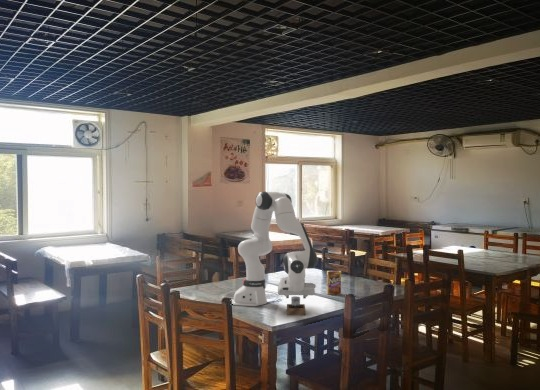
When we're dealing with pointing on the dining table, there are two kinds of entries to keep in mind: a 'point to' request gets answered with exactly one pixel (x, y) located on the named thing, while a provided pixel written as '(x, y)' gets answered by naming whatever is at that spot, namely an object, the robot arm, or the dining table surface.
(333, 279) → the candy box
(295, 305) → the steel socket
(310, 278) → the dining table surface
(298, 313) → the brown wooden square box
